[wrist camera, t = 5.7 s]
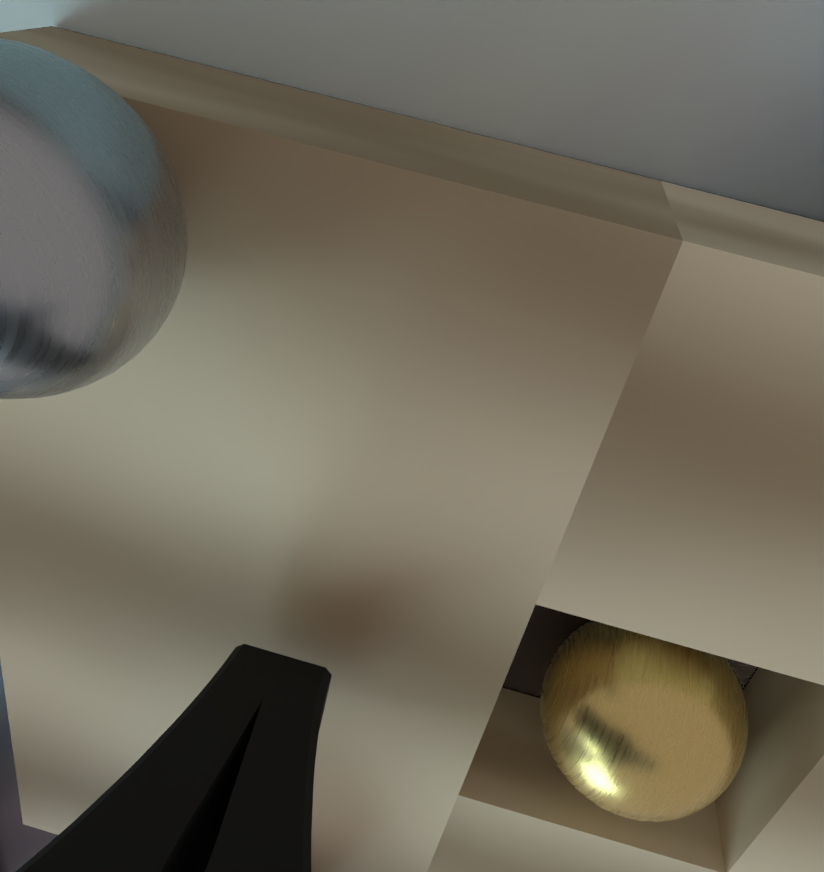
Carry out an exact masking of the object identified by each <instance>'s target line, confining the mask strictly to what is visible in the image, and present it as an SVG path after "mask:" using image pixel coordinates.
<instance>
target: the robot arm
mask: <svg viewBox="0 0 824 872" xmlns="http://www.w3.org/2000/svg"><path fill="white" fill-rule="evenodd" d="M331 677H332V675H331V673H330V672H329V671H328V670H327V668H326V667H322V666H319V665H316V664H312V663H309V662H305V661H302V660H298V659H295V658H292V657H288V656H285V655H281V654H278V653H274V652H271V651H268V650H264V649H261V648H257V647H254V646H250V645H247V644H242V645H239V646H237V647H235V649H234V650H233V651H232V653H231V654H230V656H229V657H228V658H227V660H226V661H225V662H224V664H223V665H222V666H221V668H220V669H219V670H218V671H217V673H216V674H215V675H214V676H213V678H212V679H211V680H210V681H209V683H208V684H207V685H206V686H205V687H204V689H203V690H202V691H201V692H200V693H199V694H198V696H197V697H196V698H195V699H194V700H193V701H192V702H191V704H190V705H189V706H188V707H187V708H186V709H185V710H184V711H183V713H182V714H181V715H180V716H179V717H178V718H177V719H176V720H175V722H174V723H173V724H172V725H171V726H170V727H169V728H168V729H167V730H166V731H165V732H164V733H163V734H162V735H161V736H160V737H159V738H158V739H157V740H156V741H155V743H154V744H153V745H152V746H151V747H150V748H149V749H148V750H147V751H146V752H145V753H144V754H143V755H142V756H141V757H140V758H139V759H138V760H137V761H136V762H135V763H134V764H133V765H132V766H131V767H130V768H129V769H128V770H127V771H126V772H125V773H124V774H123V775H122V776H121V777H120V778H119V779H118V780H117V781H116V782H115V783H114V784H113V785H112V786H111V787H110V788H109V789H108V790H106V791H105V792H104V793H103V794H102V795H101V796H100V797H99V798H98V799H97V800H96V801H95V802H94V803H93V804H92V805H91V806H90V807H89V808H87V809H86V810H85V811H84V812H83V813H82V814H81V815H80V816H79V817H78V818H77V819H76V820H75V821H74V822H72V823H71V824H70V825H69V826H68V827H67V828H66V829H65V830H64V831H62V832H61V833H60V834H59V835H58V836H57V837H56V838H55V839H53V840H52V841H51V842H50V843H49V844H48V845H47V846H45V847H44V848H43V849H42V850H41V851H40V852H38V853H37V854H36V855H35V856H34V857H33V858H31V859H30V860H29V861H28V862H27V863H25V864H24V865H23V866H22V867H21V868H19V869H18V870H17V871H16V872H311V833H312V808H313V784H314V770H315V759H316V750H317V741H318V734H319V729H320V725H321V721H322V716H323V712H324V708H325V703H326V699H327V695H328V690H329V686H330V682H331Z"/></svg>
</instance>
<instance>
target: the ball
mask: <svg viewBox="0 0 824 872" xmlns="http://www.w3.org/2000/svg"><path fill="white" fill-rule="evenodd" d="M540 711H541V720H542V727H543V731H544V735H545V739H546V742H547V745H548V747H549V750H550V752H551V754H552V756H553V758H554V760H555V762H556V763H557V765H558V767H559V769H560V770H561V771H562V773H563V774H564V776H565V777H566V778H567V780H568V781H569V782H570V783H571V784H572V785H573V786H574V787H575V788H576V789H577V790H578V791H579V792H580V793H582V794H583V795H584V796H585V797H586V798H588V799H589V800H590V801H591V802H593V803H595V804H596V805H598V806H599V807H601V808H602V809H605V810H607V811H609V812H611V813H613V814H615V815H619V816H622V817H625V818H628V819H633V820H639V821H645V822H662V821H670V820H676V819H680V818H683V817H686V816H689V815H691V814H693V813H696V812H698V811H700V810H702V809H704V808H705V807H707V806H708V805H709V804H711V803H712V802H713V801H715V800H716V799H717V798H718V797H719V796H720V795H721V794H722V793H723V792H724V791H725V790H726V789H727V788H728V786H729V785H730V784H731V782H732V781H733V779H734V777H735V775H736V774H737V772H738V770H739V768H740V766H741V763H742V761H743V758H744V755H745V751H746V746H747V740H748V712H747V707H746V702H745V697H744V694H743V691H742V688H741V686H740V683H739V681H738V678H737V676H736V674H735V673H734V671H733V669H732V667H731V665H730V664H729V663H728V661H727V660H726V658H725V657H721V656H717V655H714V654H710V653H707V652H703V651H700V650H696V649H693V648H689V647H685V646H682V645H678V644H675V643H671V642H668V641H664V640H660V639H657V638H653V637H650V636H646V635H643V634H639V633H636V632H632V631H628V630H625V629H621V628H618V627H614V626H611V625H607V624H604V623H600V622H596V621H593V620H591V621H589V622H588V623H586V624H584V625H583V626H581V627H579V628H578V629H577V630H576V631H574V632H573V633H572V634H571V635H570V636H569V637H568V638H567V639H566V640H565V641H564V642H563V643H562V644H561V646H560V647H559V649H558V650H557V652H556V653H555V654H554V656H553V658H552V660H551V662H550V664H549V666H548V669H547V671H546V674H545V677H544V681H543V686H542V691H541V709H540Z"/></svg>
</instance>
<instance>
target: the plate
mask: <svg viewBox="0 0 824 872" xmlns="http://www.w3.org/2000/svg"><path fill="white" fill-rule="evenodd" d="M0 38H1V39H7V40H12V41H17V42H22V43H26V44H29V45H32V46H35V47H38V48H41V49H44V50H47V51H49V52H51V53H53V54H55V55H57V56H59V57H62V58H64V59H66V60H68V61H70V62H72V63H74V64H76V65H78V66H80V67H81V68H83V69H85V70H86V71H88V72H89V73H91V74H92V75H94V76H96V77H97V78H99V79H100V80H101V81H102V82H104V83H105V84H106V85H107V86H109V87H110V88H111V89H112V90H114V91H115V92H116V93H117V94H118V95H119V96H120V97H121V98H123V99H124V100H125V101H126V102H127V103H128V104H129V105H130V106H131V107H132V108H133V109H134V110H135V111H136V112H137V114H138V115H139V116H140V117H141V118H142V120H143V121H144V122H145V123H146V125H147V126H148V127H149V128H150V130H151V131H152V133H153V134H154V136H155V137H156V139H157V140H158V142H159V143H160V145H161V146H162V148H163V150H164V152H165V154H166V156H167V158H168V160H169V162H170V163H171V165H172V168H173V170H174V173H175V175H176V178H177V181H178V183H179V186H180V190H181V194H182V197H183V201H184V206H185V213H186V220H187V227H188V252H187V261H186V268H185V272H184V276H183V280H182V284H181V288H180V292H179V294H178V296H177V299H176V301H175V303H174V306H173V308H172V310H171V312H170V313H169V315H168V317H167V319H166V320H165V322H164V324H163V325H162V327H161V328H160V330H159V331H158V333H157V334H156V335H155V336H154V337H153V338H152V339H151V340H150V342H149V343H148V344H147V345H146V346H145V347H144V348H143V349H142V350H141V351H140V353H139V354H138V355H136V356H135V357H134V358H132V359H131V360H130V361H129V362H127V363H126V364H125V365H123V366H122V367H120V368H119V369H118V370H116V371H115V372H114V373H112V374H110V375H108V376H106V377H104V378H102V379H100V380H98V381H96V382H94V383H92V384H90V385H87V386H85V387H82V388H79V389H76V390H73V391H70V392H66V393H62V394H58V395H53V396H47V397H41V398H30V399H0V660H1V668H2V675H3V682H4V689H5V697H6V704H7V711H8V719H9V726H10V733H11V740H12V748H13V755H14V762H15V770H16V777H17V784H18V791H19V799H20V806H21V813H22V821H23V824H24V825H27V826H31V827H34V828H37V829H40V830H44V831H47V832H50V833H54V834H57V835H59V834H60V833H61V832H62V831H64V830H65V829H66V828H67V827H68V826H69V825H70V824H71V823H72V822H74V821H75V820H76V819H77V818H78V817H79V816H80V815H81V814H82V813H83V812H84V811H85V810H86V809H87V808H89V807H90V806H91V805H92V804H93V803H94V802H95V801H96V800H97V799H98V798H99V797H100V796H101V795H102V794H103V793H104V792H105V791H106V790H108V789H109V788H110V787H111V786H112V785H113V784H114V783H115V782H116V781H117V780H118V779H119V778H120V777H121V776H122V775H123V774H124V773H125V772H126V771H127V770H128V769H129V768H130V767H131V766H132V765H133V764H134V763H135V762H136V761H137V760H138V759H139V758H140V757H141V756H142V755H143V754H144V753H145V752H146V751H147V750H148V749H149V748H150V747H151V746H152V745H153V744H154V743H155V741H156V740H157V739H158V738H159V737H160V736H161V735H162V734H163V733H164V732H165V731H166V730H167V729H168V728H169V727H170V726H171V725H172V724H173V723H174V722H175V720H176V719H177V718H178V717H179V716H180V715H181V714H182V713H183V711H184V710H185V709H186V708H187V707H188V706H189V705H190V704H191V702H192V701H193V700H194V699H195V698H196V697H197V696H198V694H199V693H200V692H201V691H202V690H203V689H204V687H205V686H206V685H207V684H208V683H209V681H210V680H211V679H212V678H213V676H214V675H215V674H216V673H217V671H218V670H219V669H220V668H221V666H222V665H223V664H224V662H225V661H226V660H227V658H228V657H229V656H230V654H231V653H232V651H233V650H234V649H235V647H237V646H239V645H242V644H247V645H250V646H254V647H257V648H261V649H264V650H268V651H271V652H274V653H278V654H281V655H285V656H288V657H292V658H295V659H298V660H302V661H305V662H309V663H312V664H316V665H319V666H322V667H326V668H327V670H328V671H329V672H330V673H331V675H332V677H331V682H330V686H329V690H328V695H327V699H326V703H325V708H324V712H323V716H322V721H321V725H320V729H319V734H318V741H317V750H316V759H315V770H314V784H313V808H312V833H311V872H824V222H821V221H817V220H813V219H809V218H805V217H802V216H798V215H794V214H790V213H786V212H782V211H778V210H774V209H770V208H766V207H762V206H758V205H754V204H750V203H746V202H742V201H738V200H734V199H731V198H727V197H723V196H719V195H715V194H711V193H707V192H703V191H699V190H695V189H691V188H687V187H683V186H679V185H675V184H671V183H667V182H664V181H660V180H656V179H652V178H648V177H644V176H640V175H636V174H632V173H628V172H624V171H620V170H616V169H612V168H608V167H604V166H600V165H596V164H593V163H589V162H585V161H581V160H577V159H573V158H569V157H565V156H561V155H557V154H553V153H549V152H545V151H541V150H537V149H533V148H529V147H526V146H522V145H518V144H514V143H510V142H506V141H502V140H498V139H494V138H490V137H486V136H482V135H478V134H474V133H470V132H466V131H462V130H458V129H455V128H451V127H447V126H443V125H439V124H435V123H431V122H427V121H423V120H419V119H415V118H411V117H407V116H403V115H399V114H395V113H391V112H387V111H384V110H380V109H376V108H372V107H368V106H364V105H360V104H356V103H352V102H348V101H344V100H340V99H336V98H332V97H328V96H324V95H320V94H317V93H313V92H309V91H305V90H301V89H297V88H293V87H289V86H285V85H281V84H277V83H273V82H269V81H265V80H261V79H257V78H253V77H249V76H246V75H242V74H238V73H234V72H230V71H226V70H222V69H218V68H214V67H210V66H206V65H202V64H198V63H194V62H190V61H186V60H182V59H179V58H175V57H171V56H167V55H163V54H159V53H155V52H151V51H147V50H143V49H139V48H135V47H131V46H127V45H123V44H119V43H115V42H111V41H108V40H104V39H100V38H96V37H92V36H88V35H84V34H80V33H76V32H72V31H68V30H64V29H60V28H56V27H52V26H50V27H42V28H35V29H27V30H19V31H11V32H3V33H0ZM535 605H540V606H543V607H547V608H550V609H554V610H557V611H561V612H564V613H568V614H572V615H575V616H579V617H582V618H586V619H589V620H593V621H596V622H600V623H604V624H607V625H611V626H614V627H618V628H621V629H625V630H628V631H632V632H636V633H639V634H643V635H646V636H650V637H653V638H657V639H660V640H664V641H668V642H671V643H675V644H678V645H682V646H685V647H689V648H693V649H696V650H700V651H703V652H707V653H710V654H714V655H717V656H721V657H725V658H728V659H732V660H735V661H739V662H742V663H746V664H749V665H753V666H757V667H758V669H757V670H756V672H755V673H754V675H753V676H752V678H751V679H750V681H749V682H748V684H747V685H746V687H745V688H744V690H743V694H744V697H745V702H746V707H747V712H748V740H747V746H746V751H745V755H744V758H743V761H742V763H741V766H740V768H739V770H738V772H737V774H736V775H735V777H734V779H733V781H732V782H731V784H730V785H729V786H728V788H727V789H726V790H725V791H724V792H723V793H722V794H721V795H720V796H719V797H718V798H717V799H716V800H715V801H713V802H712V803H711V804H709V805H708V806H707V807H705V808H704V809H702V810H700V811H698V812H696V813H693V814H691V815H689V816H686V817H683V818H680V819H676V820H670V821H662V822H645V821H639V820H633V819H628V818H625V817H622V816H619V815H615V814H613V813H611V812H609V811H607V810H605V809H602V808H601V807H599V806H598V805H596V804H595V803H593V802H591V801H590V800H589V799H588V798H586V797H585V796H584V795H583V794H582V793H580V792H579V791H578V790H577V789H576V788H575V787H574V786H573V785H572V784H571V783H570V782H569V781H568V780H567V778H566V777H565V776H564V774H563V773H562V771H561V770H560V769H559V767H558V765H557V763H556V762H555V760H554V758H553V756H552V754H551V752H550V750H549V747H548V745H547V742H546V739H545V735H544V731H543V727H542V720H541V711H540V709H541V699H540V698H537V697H533V696H530V695H526V694H523V693H519V692H516V691H512V690H509V689H505V688H502V686H503V683H504V681H505V678H506V676H507V674H508V671H509V669H510V666H511V664H512V661H513V659H514V656H515V654H516V651H517V649H518V646H519V644H520V641H521V639H522V637H523V634H524V632H525V629H526V627H527V624H528V622H529V619H530V617H531V614H532V612H533V609H534V607H535Z"/></svg>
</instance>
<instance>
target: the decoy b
mask: <svg viewBox="0 0 824 872" xmlns="http://www.w3.org/2000/svg"><path fill="white" fill-rule="evenodd" d="M187 252H188V227H187V220H186V213H185V206H184V201H183V197H182V194H181V190H180V186H179V183H178V181H177V178H176V175H175V173H174V170H173V168H172V165H171V163H170V162H169V160H168V158H167V156H166V154H165V152H164V150H163V148H162V146H161V145H160V143H159V142H158V140H157V139H156V137H155V136H154V134H153V133H152V131H151V130H150V128H149V127H148V126H147V125H146V123H145V122H144V121H143V120H142V118H141V117H140V116H139V115H138V114H137V112H136V111H135V110H134V109H133V108H132V107H131V106H130V105H129V104H128V103H127V102H126V101H125V100H124V99H123V98H121V97H120V96H119V95H118V94H117V93H116V92H115V91H114V90H112V89H111V88H110V87H109V86H107V85H106V84H105V83H104V82H102V81H101V80H100V79H99V78H97V77H96V76H94V75H92V74H91V73H89V72H88V71H86V70H85V69H83V68H81V67H80V66H78V65H76V64H74V63H72V62H70V61H68V60H66V59H64V58H62V57H59V56H57V55H55V54H53V53H51V52H49V51H47V50H44V49H41V48H38V47H35V46H32V45H29V44H26V43H22V42H17V41H12V40H7V39H1V38H0V399H30V398H41V397H47V396H53V395H58V394H62V393H66V392H70V391H73V390H76V389H79V388H82V387H85V386H87V385H90V384H92V383H94V382H96V381H98V380H100V379H102V378H104V377H106V376H108V375H110V374H112V373H114V372H115V371H116V370H118V369H119V368H120V367H122V366H123V365H125V364H126V363H127V362H129V361H130V360H131V359H132V358H134V357H135V356H136V355H138V354H139V353H140V351H141V350H142V349H143V348H144V347H145V346H146V345H147V344H148V343H149V342H150V340H151V339H152V338H153V337H154V336H155V335H156V334H157V333H158V331H159V330H160V328H161V327H162V325H163V324H164V322H165V320H166V319H167V317H168V315H169V313H170V312H171V310H172V308H173V306H174V303H175V301H176V299H177V296H178V294H179V292H180V288H181V284H182V280H183V276H184V272H185V268H186V261H187Z"/></svg>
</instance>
